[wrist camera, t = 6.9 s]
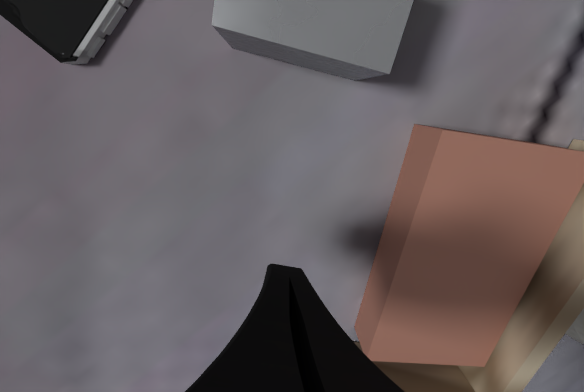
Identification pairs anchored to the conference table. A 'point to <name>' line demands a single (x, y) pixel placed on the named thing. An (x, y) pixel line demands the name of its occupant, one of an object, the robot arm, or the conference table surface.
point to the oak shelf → (518, 322)
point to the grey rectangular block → (317, 32)
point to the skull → (577, 328)
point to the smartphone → (66, 24)
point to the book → (462, 244)
